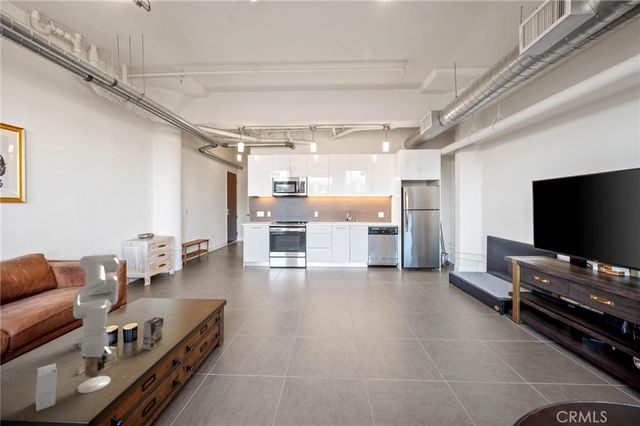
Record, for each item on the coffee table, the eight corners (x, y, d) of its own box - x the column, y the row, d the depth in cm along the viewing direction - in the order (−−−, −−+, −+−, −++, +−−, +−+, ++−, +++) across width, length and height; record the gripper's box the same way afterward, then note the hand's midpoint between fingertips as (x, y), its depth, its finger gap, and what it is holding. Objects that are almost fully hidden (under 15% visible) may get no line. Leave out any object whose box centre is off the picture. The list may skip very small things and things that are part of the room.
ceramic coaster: (70, 392, 122) (70, 391, 122) (92, 376, 134) (92, 375, 134) (96, 393, 122) (96, 392, 122) (116, 377, 134) (116, 376, 134)
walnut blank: (85, 376, 125) (85, 357, 125) (94, 370, 130) (94, 352, 130) (95, 377, 125) (96, 358, 125) (104, 370, 130) (104, 352, 130)
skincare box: (34, 402, 115) (36, 368, 115) (54, 395, 120) (55, 362, 120) (36, 412, 110) (37, 376, 110) (56, 404, 115) (58, 369, 115)
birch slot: (77, 374, 135) (77, 358, 135) (97, 361, 148) (98, 346, 148) (97, 375, 135) (98, 359, 135) (116, 361, 148) (116, 347, 148)
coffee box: (151, 350, 161) (152, 323, 161) (142, 348, 162) (143, 322, 162) (163, 343, 170) (164, 317, 170) (154, 341, 171) (155, 316, 171)
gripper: (71, 334, 124) (70, 373, 124) (107, 335, 124) (106, 374, 124) (85, 327, 132) (84, 364, 132) (119, 328, 132) (118, 365, 131)
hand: (95, 368), depth 128 cm, fingers closed on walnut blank, 5 cm apart
